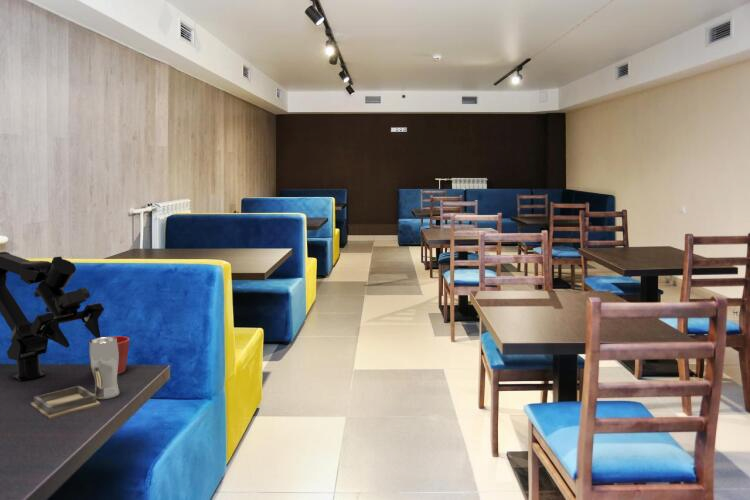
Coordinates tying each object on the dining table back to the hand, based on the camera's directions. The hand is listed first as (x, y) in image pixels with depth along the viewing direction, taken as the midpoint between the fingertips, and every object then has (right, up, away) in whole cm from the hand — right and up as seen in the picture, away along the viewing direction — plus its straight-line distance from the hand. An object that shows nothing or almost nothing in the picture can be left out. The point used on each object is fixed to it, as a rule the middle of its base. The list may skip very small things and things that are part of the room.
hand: (84, 342), depth 161 cm
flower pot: (0, -12, +17) cm, 21 cm away
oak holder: (-1, -15, -9) cm, 17 cm away
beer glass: (+7, -14, -2) cm, 16 cm away
